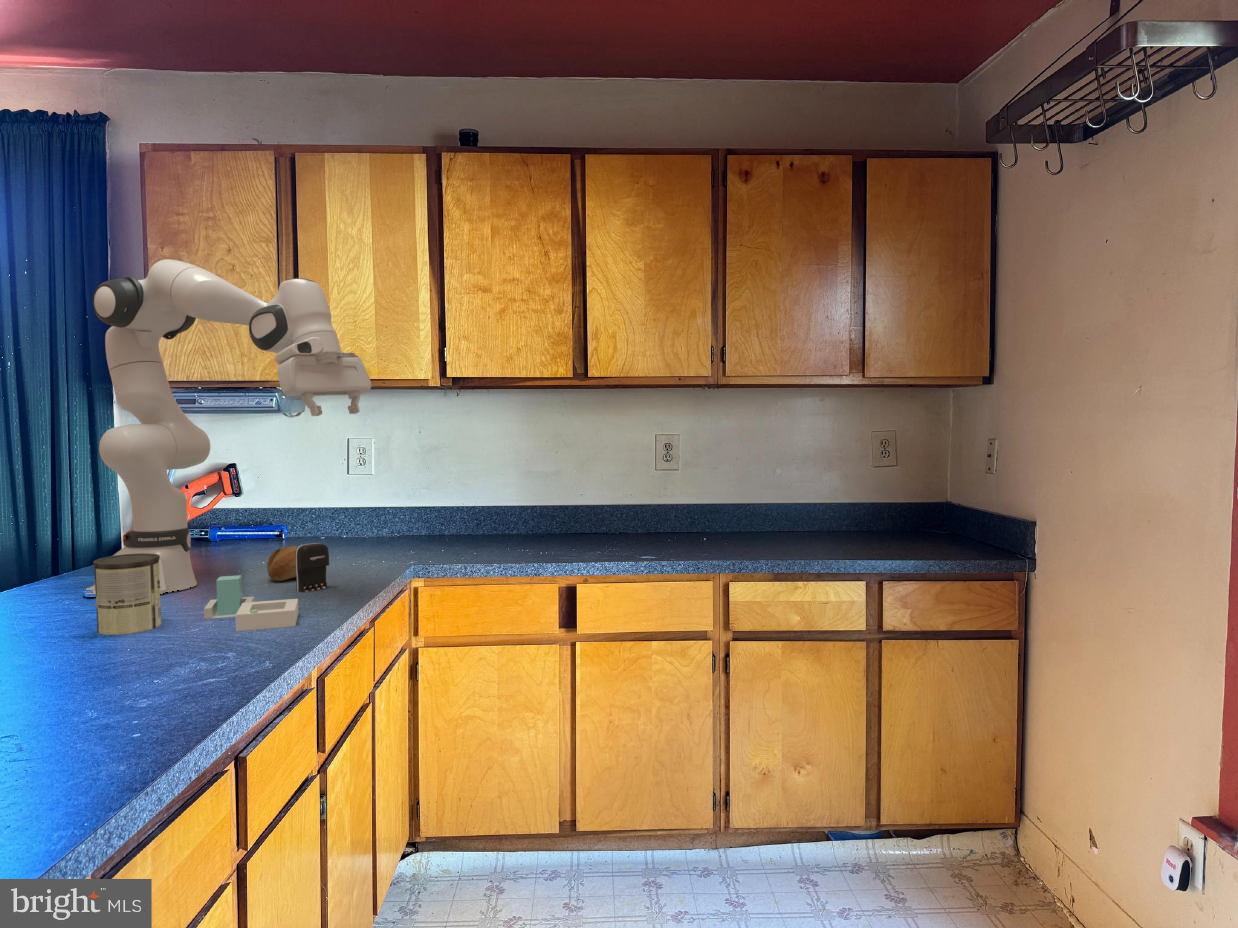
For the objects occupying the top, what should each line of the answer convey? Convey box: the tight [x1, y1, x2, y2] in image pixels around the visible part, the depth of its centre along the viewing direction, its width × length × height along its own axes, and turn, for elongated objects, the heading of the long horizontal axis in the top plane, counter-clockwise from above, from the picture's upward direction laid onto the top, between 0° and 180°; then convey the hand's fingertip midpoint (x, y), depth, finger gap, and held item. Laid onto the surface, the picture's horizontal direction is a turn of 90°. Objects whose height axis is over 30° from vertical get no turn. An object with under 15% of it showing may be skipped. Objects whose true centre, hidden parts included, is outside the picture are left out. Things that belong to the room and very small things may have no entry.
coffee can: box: [93, 553, 162, 636], centre depth 139 cm, size 10×10×14 cm
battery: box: [295, 542, 330, 593], centre depth 172 cm, size 7×4×11 cm, turn 143°
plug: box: [215, 574, 243, 615], centre depth 151 cm, size 4×4×7 cm
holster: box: [203, 596, 255, 620], centre depth 151 cm, size 8×8×3 cm
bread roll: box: [266, 545, 298, 582], centre depth 190 cm, size 10×15×8 cm, turn 170°
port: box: [235, 598, 299, 632], centre depth 143 cm, size 10×10×4 cm
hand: (336, 414), depth 157 cm, fingers open, 8 cm apart
